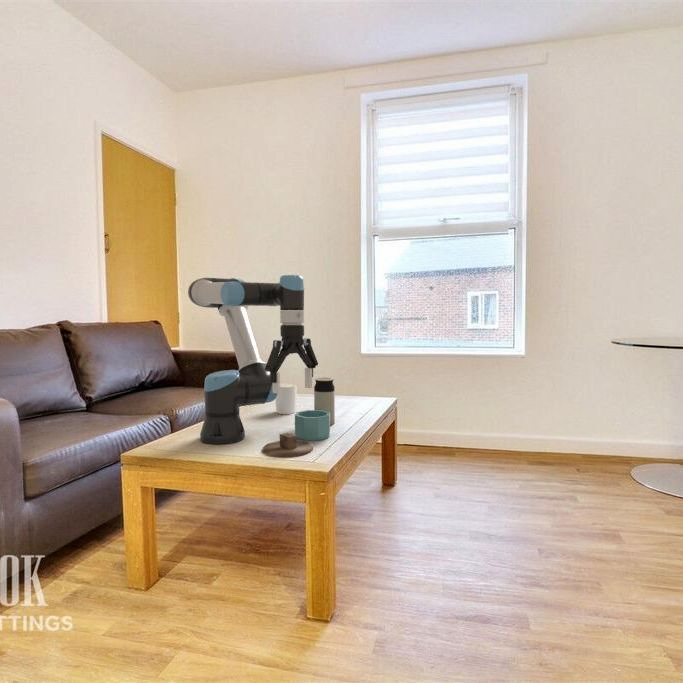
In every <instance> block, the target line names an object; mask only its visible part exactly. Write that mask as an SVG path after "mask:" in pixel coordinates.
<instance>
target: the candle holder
mask: <svg viewBox="0 0 683 683" xmlns="http://www.w3.org/2000/svg"><path fill="white" fill-rule="evenodd" d="M297 386H298V384H296V383H287V382H286V383H284V382H283V383H280V394H277V397H276V398H275V412H276V414H278V413H279V414H278V415H291V413H292V414H296V410H297V409H296V408H297Z"/></svg>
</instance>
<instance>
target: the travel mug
mask: <svg viewBox="0 0 683 683" xmlns="http://www.w3.org/2000/svg"><path fill="white" fill-rule="evenodd" d="M334 380H335V378H334V377H331V376H320V377H319V376H318V377H315V378H314V381H315V385H314V388H313V396H314V398H313V401H314V402H313V405H314V406H313V407H314V408H313V410H322V411H326V412H330V426H332V425H334V424H335V423H336V421H335V417H336V416H335V411H336V410H335V408H336V407H335V402H336V401H335V398H336V397H335V385H334Z"/></svg>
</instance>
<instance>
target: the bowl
mask: <svg viewBox="0 0 683 683" xmlns="http://www.w3.org/2000/svg"><path fill="white" fill-rule="evenodd" d="M294 414H295V415H294V435H296V436H297V439H298V440H300V441H306V442H312V441H314V442H315V441H316V440H317V441H322V440H326V438H327V439H328V437H329V438H330V434H331V425H330V412H326V411H322V410H314V409H313V410H312V409H306V410H301V411H297V412H295V413H294ZM317 441H316V442H317Z"/></svg>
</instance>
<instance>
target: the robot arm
mask: <svg viewBox="0 0 683 683" xmlns="http://www.w3.org/2000/svg"><path fill="white" fill-rule="evenodd" d="M187 295H188V298H189V300H190V302H192V303H193V304H194V305H196V306H198V307H201V308H207V309H210V308H211V309H215V308H216V309H217V310H218V314H219V316H221V317H224V320H225V324H226V328H227V331H228V333H229V337H230V340H231V343H232V347H233V351H234V354H235V357H236V361H237V365H238V369H229V370H227V369H226V370H219V371H214V372H211V373H209V374H208V375H206V377H205V378H204V388H203V392H204V393H203V394H204V420H203V424H202V427H201V429H200V433H199V434H200V435H199V438H200V442H202V443H204V444H208V443H209V444H210V445H224V444H232V443H233V444H234V443H237V442H240V441H242V440H244V439H245V437H246V430H245V427H244V424H243V422H242V419H241V416H240V407H246V406H254V405H264V404H268V403H271V402H274V400H275V398H276V397H277V394H280V384H281V372H278V371H279V370H280V368H281V367H282V365H283V363H284V362H285V360H286V358H287V357H288V356H289V355H291V354H297V355H298V356H299V358H300V359H301V361H302V362H303V364H304V365H305V366H306V367H304V388H307V389H313V378H314V369H316V367H318V365H319V362H318V360H317V357H316V354H315V351H314V350H313V347H312V341H311V338H306V337H304V336H305V326H304V323H305V311H304V310H305V284H304V278H303V276H301V275H300V274H299V275H298V274H297V275H296V274H288V275H287V274H285V275H281V276H280V278H279V282H276V283H275V282H274V283H273V282H249V281H248V282H247V281H244V280H243V279H239V278H235V277H233V278H221V277H219V278H218V277H201V278H198V279H196V280H193V282H191V283H190V285H189V286H188V290H187ZM249 306H251V307H252V306H253V307H278V306H279V312H280V313H279V315H280V316H279V319H280V321H279V322H280V323H281V324H280V337H281V340H278V339H275V340H272V349H271V352H270V353H269V356H268V359H267V362H264V361H262V357H261V355H260V351H259V348H258V345H257V342H256V341H257V340H256V338H255V335H254V332H253V329H252V326H251V322H250V319H249V316H248V314H247V310H248V308H249ZM303 337H304V338H303Z"/></svg>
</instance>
